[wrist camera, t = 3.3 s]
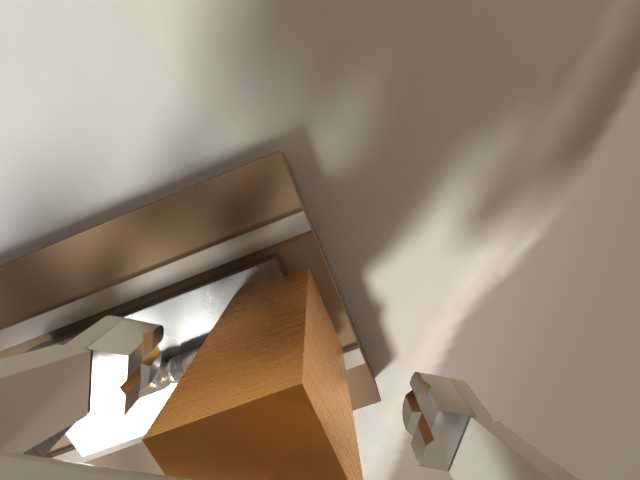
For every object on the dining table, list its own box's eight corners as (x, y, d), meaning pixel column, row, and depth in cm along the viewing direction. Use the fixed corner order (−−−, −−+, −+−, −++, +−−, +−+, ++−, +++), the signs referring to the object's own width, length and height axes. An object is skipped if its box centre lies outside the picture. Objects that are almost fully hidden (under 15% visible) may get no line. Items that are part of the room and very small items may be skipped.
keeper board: (-23, 517, 17) (-62, 557, 15) (-179, 343, 14) (-248, 367, 12) (374, 378, 15) (382, 405, 14) (283, 153, 13) (278, 150, 11)
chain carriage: (100, 437, 14) (-256, 884, 5) (34, 343, 12) (-570, 720, 4) (346, 349, 13) (411, 706, 4) (300, 240, 12) (264, 431, 3)
